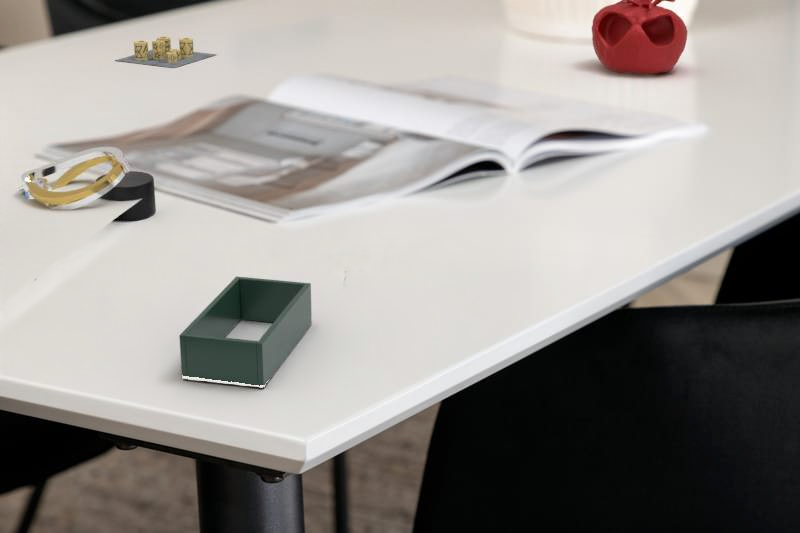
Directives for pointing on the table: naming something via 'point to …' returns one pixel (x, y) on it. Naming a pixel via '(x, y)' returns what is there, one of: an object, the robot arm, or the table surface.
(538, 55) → the table surface
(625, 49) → the red rounded hollow piece
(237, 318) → the dark green hollow box
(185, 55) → the dice set
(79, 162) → the ring
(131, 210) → the black round cut piece
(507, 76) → the table surface
